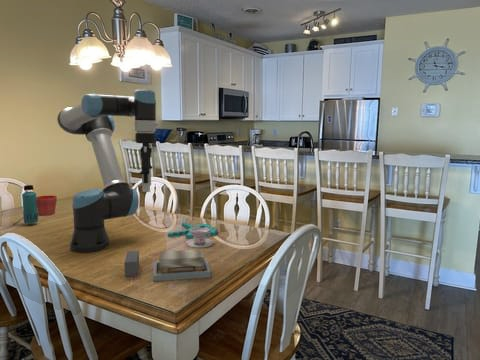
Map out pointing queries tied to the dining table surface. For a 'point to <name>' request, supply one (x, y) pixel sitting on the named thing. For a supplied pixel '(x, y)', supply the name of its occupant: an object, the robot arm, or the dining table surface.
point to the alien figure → (188, 226)
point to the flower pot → (46, 205)
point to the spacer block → (131, 263)
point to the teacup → (199, 238)
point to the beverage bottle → (29, 205)
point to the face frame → (181, 273)
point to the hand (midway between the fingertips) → (146, 188)
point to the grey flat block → (181, 258)
